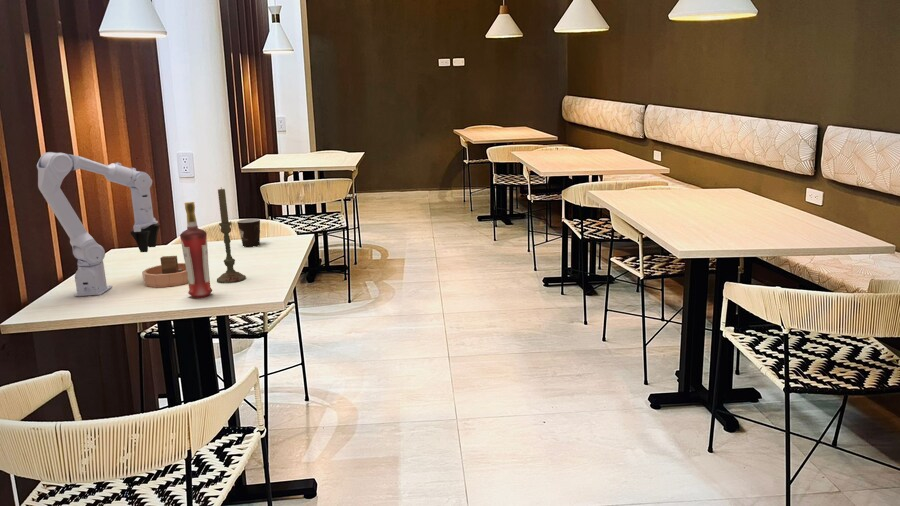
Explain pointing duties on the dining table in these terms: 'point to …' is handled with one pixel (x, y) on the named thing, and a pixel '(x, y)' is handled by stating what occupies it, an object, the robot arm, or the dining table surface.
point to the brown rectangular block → (169, 264)
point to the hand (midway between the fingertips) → (148, 249)
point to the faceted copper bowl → (165, 277)
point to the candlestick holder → (227, 243)
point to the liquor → (195, 255)
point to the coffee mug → (249, 232)
